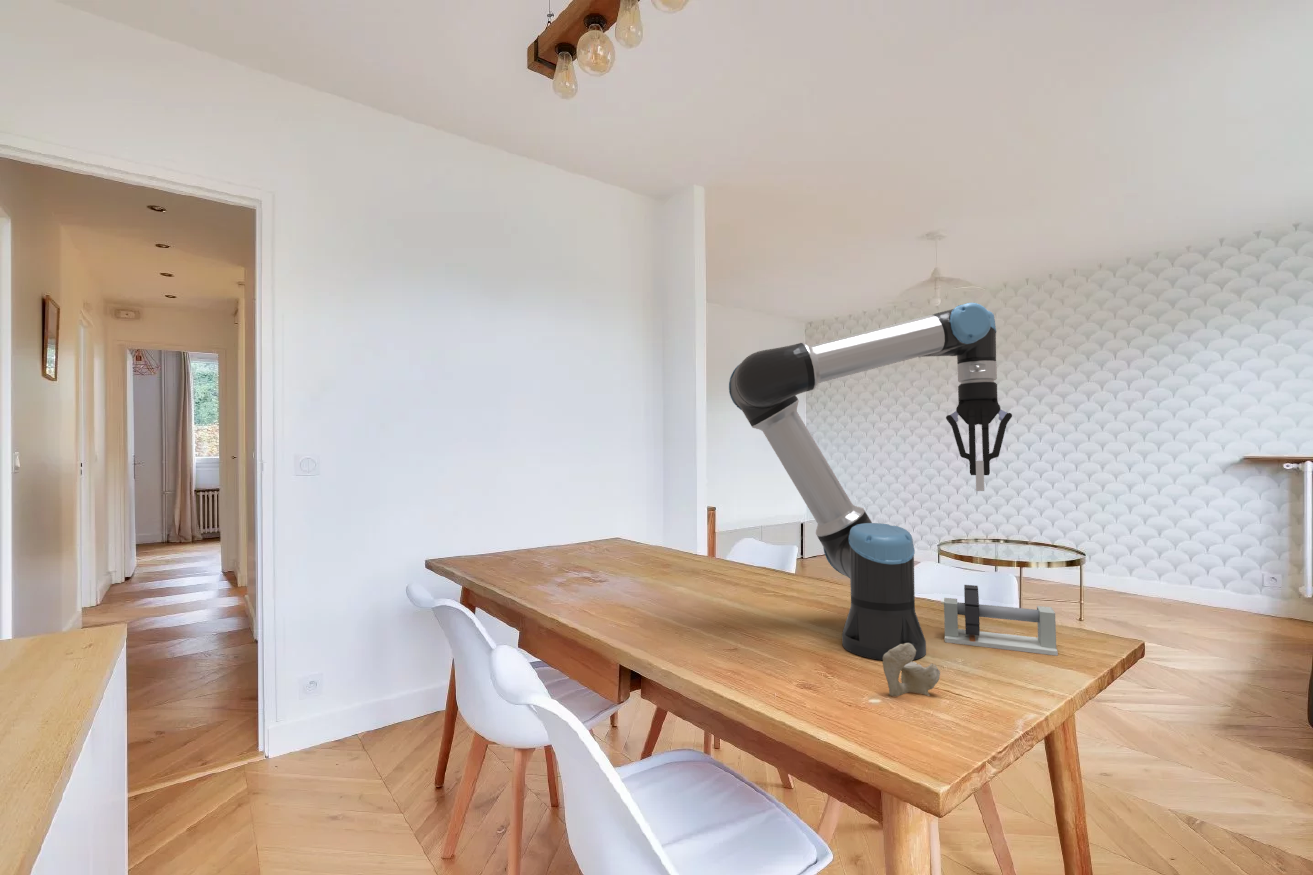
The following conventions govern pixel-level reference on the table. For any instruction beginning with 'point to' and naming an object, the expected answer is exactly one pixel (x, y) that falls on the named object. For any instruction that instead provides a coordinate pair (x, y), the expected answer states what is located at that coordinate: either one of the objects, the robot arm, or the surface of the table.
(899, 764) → the table surface
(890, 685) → the bone
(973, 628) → the o-ring
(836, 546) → the robot arm
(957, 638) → the pipe rig
